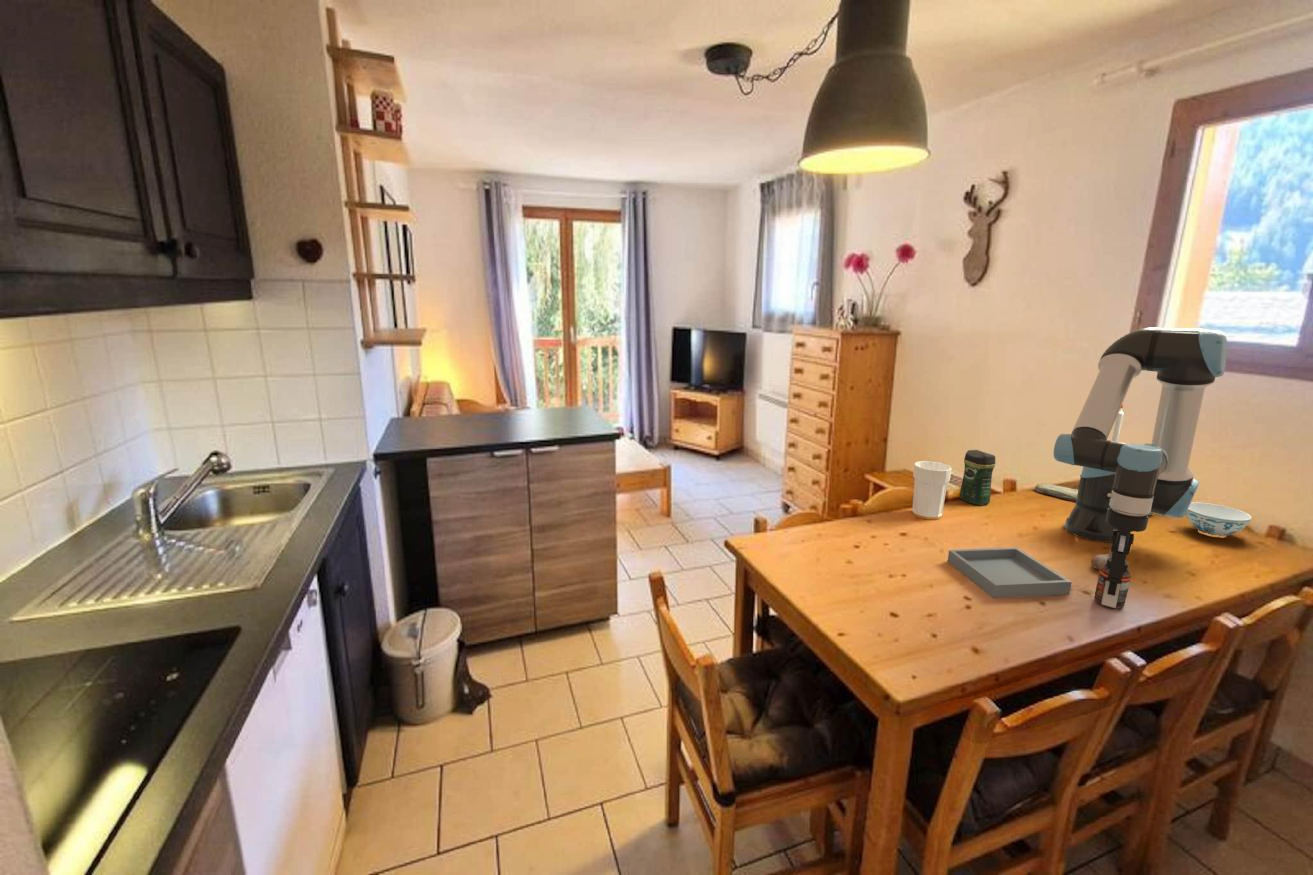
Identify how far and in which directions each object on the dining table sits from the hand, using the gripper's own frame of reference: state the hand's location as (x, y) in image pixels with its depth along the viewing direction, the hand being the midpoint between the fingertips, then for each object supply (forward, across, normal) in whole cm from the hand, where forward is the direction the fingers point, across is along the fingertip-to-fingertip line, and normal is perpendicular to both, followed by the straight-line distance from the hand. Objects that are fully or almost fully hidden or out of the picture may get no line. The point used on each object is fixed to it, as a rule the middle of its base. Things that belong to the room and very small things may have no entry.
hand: (1109, 599), depth 140 cm
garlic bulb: (+1, -21, -1) cm, 21 cm away
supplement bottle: (+1, 0, 0) cm, 1 cm away
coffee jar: (+2, -57, -42) cm, 71 cm away
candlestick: (+2, -101, -6) cm, 101 cm away
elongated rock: (+2, -83, -10) cm, 83 cm away
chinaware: (+2, -73, +22) cm, 76 cm away
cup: (+1, -32, -51) cm, 60 cm away
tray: (+1, +1, -22) cm, 22 cm away
